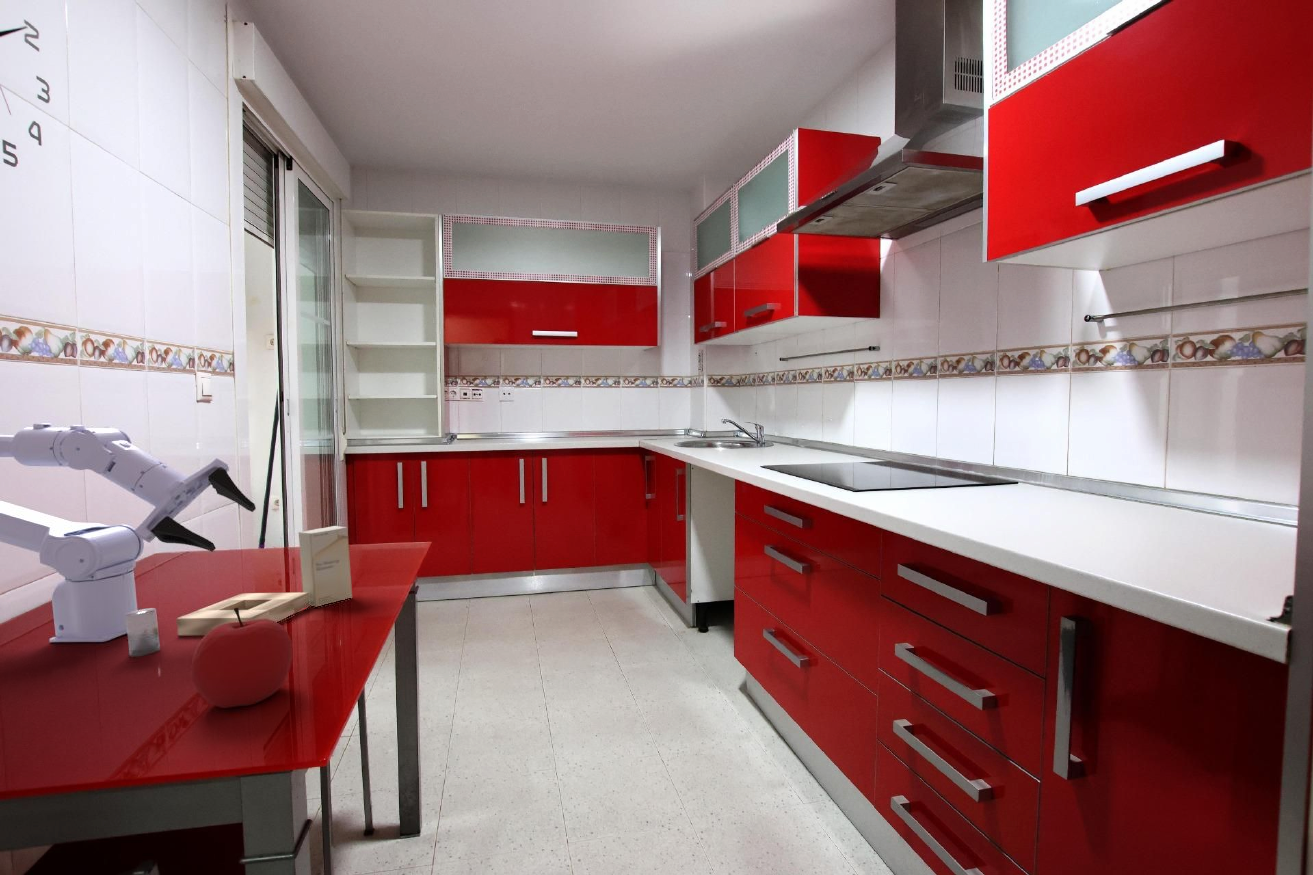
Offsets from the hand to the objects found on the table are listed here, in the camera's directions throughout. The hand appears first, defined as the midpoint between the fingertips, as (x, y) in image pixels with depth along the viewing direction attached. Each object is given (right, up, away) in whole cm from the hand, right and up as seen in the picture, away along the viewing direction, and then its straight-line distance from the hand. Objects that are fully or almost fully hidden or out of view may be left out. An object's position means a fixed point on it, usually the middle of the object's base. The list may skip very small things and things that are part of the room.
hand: (233, 527), depth 95 cm
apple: (+19, -15, -26) cm, 36 cm away
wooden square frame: (+1, -15, +2) cm, 15 cm away
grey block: (-6, -16, -9) cm, 19 cm away
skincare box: (+9, -14, +10) cm, 19 cm away
